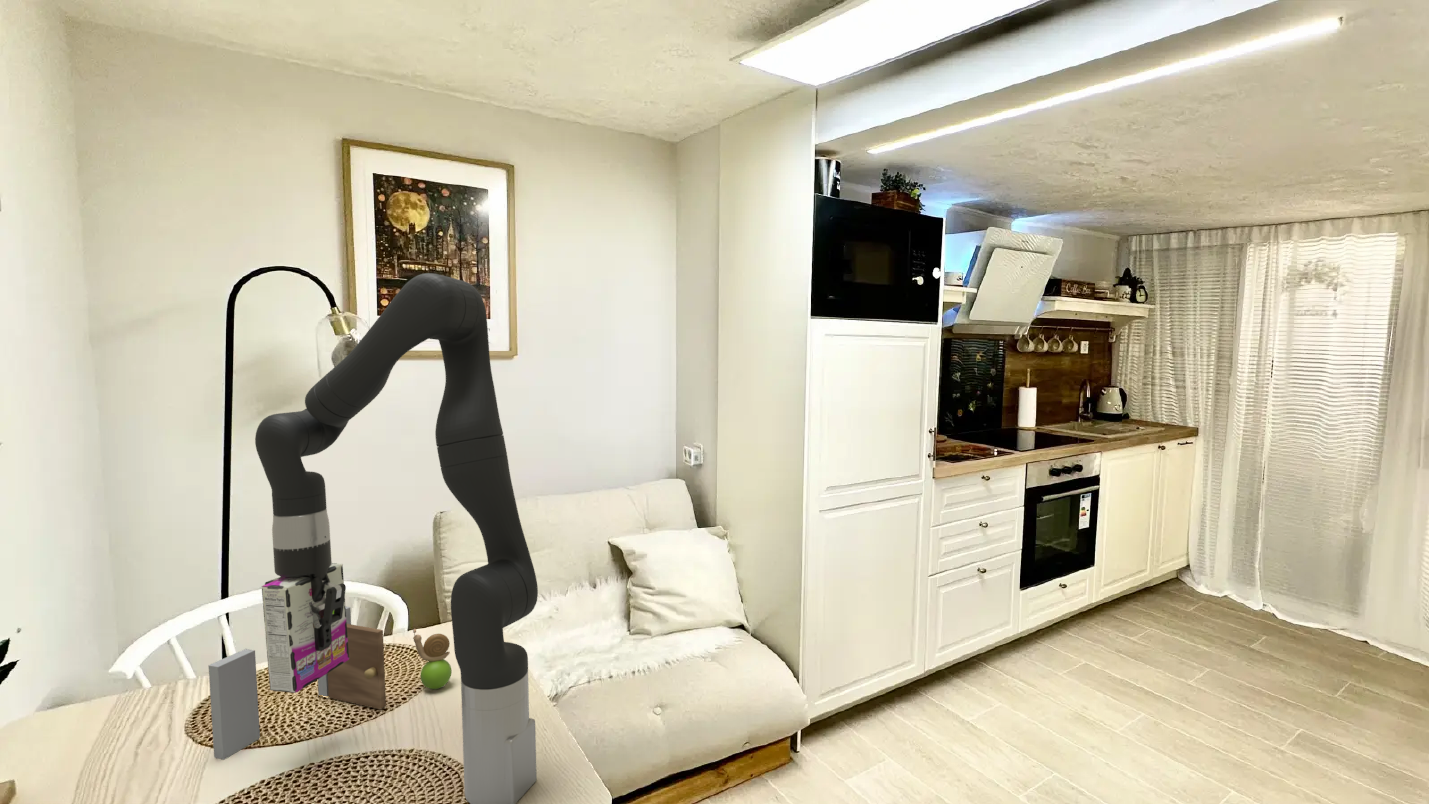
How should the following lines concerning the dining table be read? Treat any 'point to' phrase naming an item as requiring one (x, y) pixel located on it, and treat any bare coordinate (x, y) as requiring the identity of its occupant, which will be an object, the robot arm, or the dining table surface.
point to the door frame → (239, 701)
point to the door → (361, 669)
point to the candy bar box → (299, 633)
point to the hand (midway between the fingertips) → (308, 646)
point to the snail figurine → (434, 660)
